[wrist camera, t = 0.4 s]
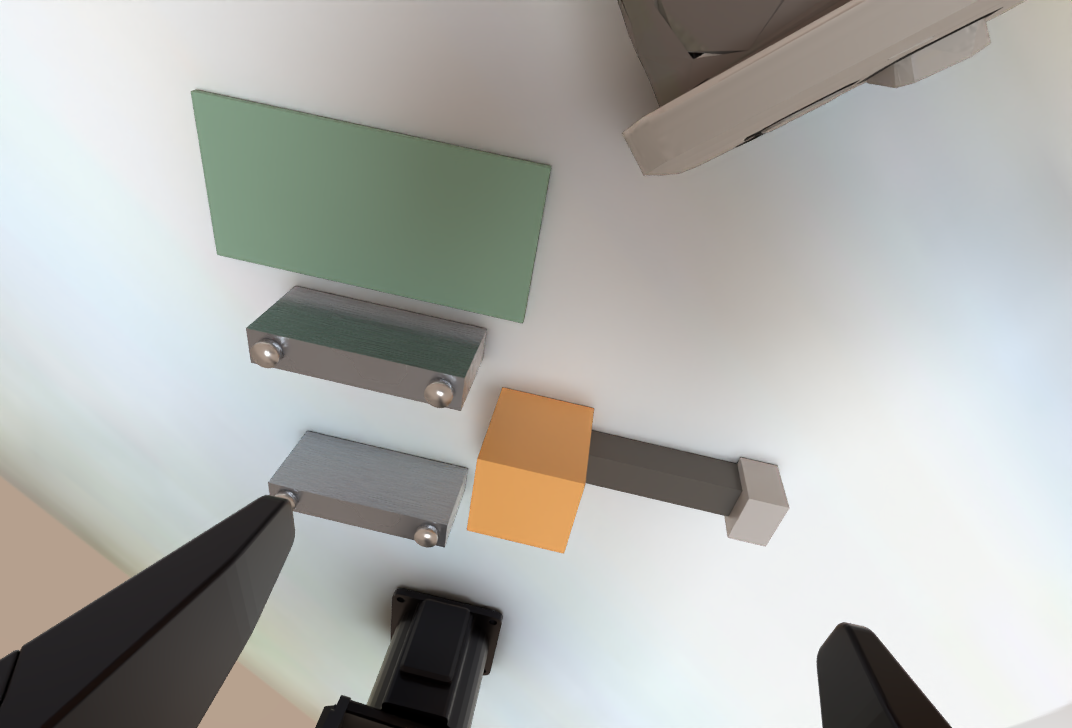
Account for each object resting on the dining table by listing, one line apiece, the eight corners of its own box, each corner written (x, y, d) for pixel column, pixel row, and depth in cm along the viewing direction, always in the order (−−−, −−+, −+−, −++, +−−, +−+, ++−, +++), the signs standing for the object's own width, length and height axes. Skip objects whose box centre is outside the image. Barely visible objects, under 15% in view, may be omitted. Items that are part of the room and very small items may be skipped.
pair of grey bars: (464, 490, 28) (442, 554, 25) (308, 453, 29) (266, 512, 25) (487, 329, 23) (461, 384, 20) (295, 285, 23) (239, 333, 20)
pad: (524, 319, 22) (522, 323, 22) (221, 251, 23) (217, 254, 23) (551, 166, 19) (550, 168, 19) (196, 90, 20) (190, 91, 19)
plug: (785, 452, 24) (811, 537, 20) (749, 515, 26) (766, 602, 23) (502, 387, 24) (477, 458, 21) (491, 454, 27) (466, 530, 23)
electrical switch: (671, 174, 19) (676, 262, 11) (601, 13, 17) (543, -25, 9) (1006, 4, 15) (1390, -54, 7) (960, -221, 13) (1397, -632, 5)
